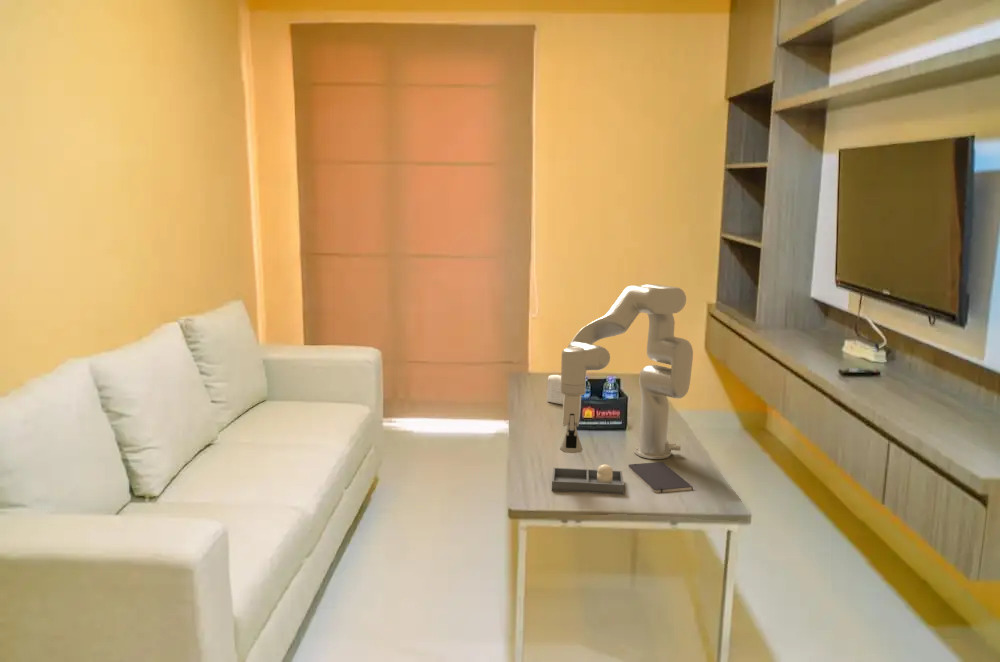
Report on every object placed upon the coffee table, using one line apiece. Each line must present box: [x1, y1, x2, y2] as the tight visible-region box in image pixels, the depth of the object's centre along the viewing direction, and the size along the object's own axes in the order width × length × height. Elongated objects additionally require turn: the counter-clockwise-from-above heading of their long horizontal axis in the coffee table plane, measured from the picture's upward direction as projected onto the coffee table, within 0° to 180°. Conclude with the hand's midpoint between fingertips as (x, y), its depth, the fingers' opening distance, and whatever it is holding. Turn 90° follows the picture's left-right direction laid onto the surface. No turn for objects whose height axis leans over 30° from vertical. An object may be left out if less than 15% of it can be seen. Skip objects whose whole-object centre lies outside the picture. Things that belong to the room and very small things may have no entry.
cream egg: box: [596, 463, 614, 484], centre depth 223 cm, size 5×5×6 cm
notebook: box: [628, 461, 693, 494], centre depth 230 cm, size 13×2×21 cm
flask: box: [559, 424, 583, 454], centre depth 222 cm, size 7×7×10 cm
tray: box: [551, 467, 625, 495], centre depth 224 cm, size 22×11×3 cm, turn 84°
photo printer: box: [546, 374, 564, 406], centre depth 310 cm, size 10×4×12 cm, turn 57°
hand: (571, 444), depth 222 cm, fingers closed on flask, 4 cm apart
